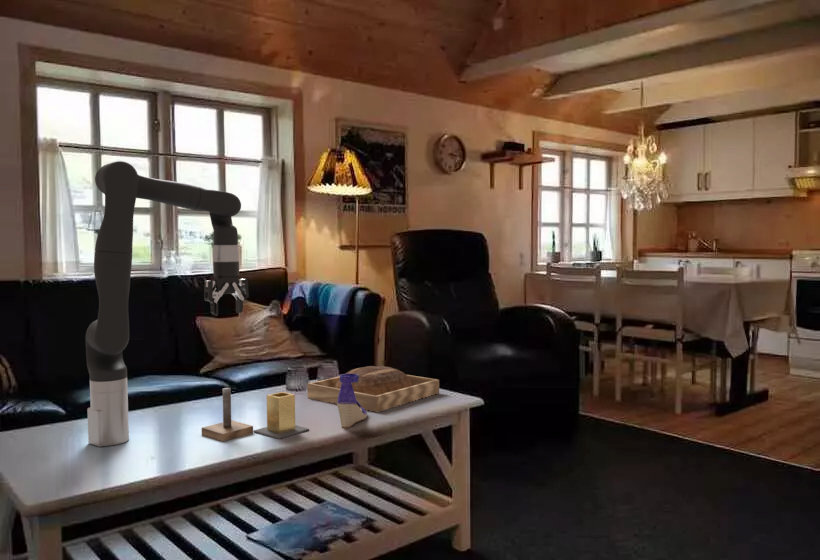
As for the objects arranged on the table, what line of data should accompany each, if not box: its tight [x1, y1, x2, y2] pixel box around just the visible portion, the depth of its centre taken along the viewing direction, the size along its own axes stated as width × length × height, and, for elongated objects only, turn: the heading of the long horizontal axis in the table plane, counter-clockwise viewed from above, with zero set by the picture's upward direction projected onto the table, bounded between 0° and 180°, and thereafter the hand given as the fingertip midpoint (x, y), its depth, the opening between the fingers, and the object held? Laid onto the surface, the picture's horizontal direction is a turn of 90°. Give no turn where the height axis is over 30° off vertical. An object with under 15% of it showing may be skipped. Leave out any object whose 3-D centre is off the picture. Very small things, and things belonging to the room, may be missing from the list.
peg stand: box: [201, 387, 254, 442], centre depth 187 cm, size 10×10×13 cm
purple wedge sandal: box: [336, 373, 368, 429], centre depth 201 cm, size 8×20×15 cm, turn 166°
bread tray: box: [306, 374, 440, 413], centre depth 233 cm, size 33×32×5 cm
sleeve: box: [266, 391, 296, 434], centre depth 189 cm, size 6×6×10 cm
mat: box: [253, 424, 310, 440], centre depth 190 cm, size 11×11×1 cm
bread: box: [335, 365, 412, 396], centre depth 236 cm, size 26×27×10 cm
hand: (227, 314), depth 202 cm, fingers open, 8 cm apart
